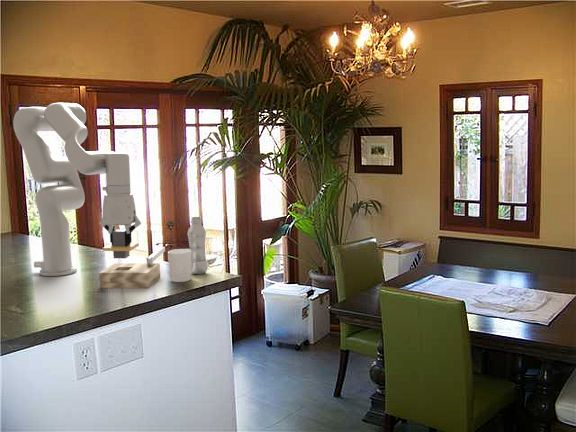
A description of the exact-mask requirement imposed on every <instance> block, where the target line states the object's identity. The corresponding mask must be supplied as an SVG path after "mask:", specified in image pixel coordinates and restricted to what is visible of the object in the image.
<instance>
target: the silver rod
mask: <svg viewBox="0 0 576 432" xmlns="http://www.w3.org/2000/svg"><path fill="white" fill-rule="evenodd" d="M164 252H166V247H165V246H159V247H158V248H157V249H156V250H154V252H152V254H150V255H149V256H148V257H146V263H147V266H153V263H154V262H155V261H156V260H157V259H158V258H159V257H160V256H161V255H163V254H164Z"/></svg>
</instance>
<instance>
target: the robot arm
mask: <svg viewBox="0 0 576 432" xmlns="http://www.w3.org/2000/svg"><path fill="white" fill-rule="evenodd" d="M12 121H13V122H12V123H13V131H14V133H15V136H16V138H17V140H18V141H19V144H20V145H21V148H22V150H23V152H24V155H25V159H26V162H27V165H28V168H29V171H30V173H31V176H32V179H33V180H34V182H35V183H37V184H43V185H45V184H54V185H48V186H47V185H46V186H44V187H42V188H40V189H39V190H38V191H37V192H36V194H35V204H36V208H37V212H38V215H39V223H40V235H41V246H42V260H41V261H38V260H37V261H36V260H35V261H34V262H33V267H34V268H40V270H39V275H40V276H42V277H43V276H44V277H58V276H59V277H61V276H67V275H71V274H74V273H76V272H77V271H78V270H77V267H76V266H74V265H73V263H72V250H71V235H70V224H69V221H68V218H67V217H66V215H65V214H64V213H63V212H65V211H74V210H77V209H80V208H82V207H83V205H84V203H85V201H86V200H85V199H86V196H85V192H84V188H83V185H82V181H81V178H80V176H79V173H81V174H83V175H85V176H91V175H103V174H104V175H105V177H106V178H105V179H106V180H105V181H106V184H105V186H102V191H105V192H106V194H104V195H103V201H102V217H101V219H100V221H99V222H98V225H100V226H101V227H103V228H104V229H105V230H106V231H107V232H108V234H109V242H110V244H111V243H112V246H113V234H112V231H114V230H116V226H124V229H126V234H125V245H126V246H128V245H130V243H132V242H133V241H132V233H133V231H135V229H136V228H138V227H139V226H141V225H142V222H141V220H140V219H139V218H138V216H137V213H136V212H137V211H136V204H135V203H136V202H135V199H134V195H133V193H131V172H130V155H129V154H128V153H127V152H125V151H124V152H123V151H111V150H96V151H95V150H93V151H86V150H85V149H84V148H83V147H82V146H81V144H82V143H84V142H85V140H86V139H87V137H88V132H89V131H88V128H87V126H85V123H86V121H87V113H86V110H85V108H84V107H82V106H81V105H80V104H78V103H74V102H72V103H70V102H54V103H50V104H48V105H47V106H46V107H45V106H29V107H28V106H27V107H21V108H20V109H18V110H17V111H16V112H15V114H14V117H13V120H12ZM38 132H55V133H56V134H57V135H58V136H59V137H60V138H61V139H62V140H63V142H64V151H65V156H63V155H62V156H54V155H53V154H52V153H51V149H50V145H49V144H48V142H47V141H46V139H45V138H44V137H43V136H42V135H40V133H38ZM57 183H59V184H57Z"/></svg>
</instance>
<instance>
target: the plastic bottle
mask: <svg viewBox="0 0 576 432" xmlns="http://www.w3.org/2000/svg"><path fill="white" fill-rule="evenodd" d="M202 223H203V221H202V217H201V216H199V217H198V216H195V217H193V216H191V218H190V224H191V225H190V227H188V230H187V238H188V244H189V249H190V250H191V274H193V275H194V274H195V275H201V274H202V275H203V274H205V273H206V272H207V271H208V267H209V266H208V261H207V256H206V236H207V232H206V229H205V227H204V226H203V225H202Z"/></svg>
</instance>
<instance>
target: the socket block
mask: <svg viewBox="0 0 576 432" xmlns="http://www.w3.org/2000/svg"><path fill="white" fill-rule="evenodd" d="M98 277H99V288H100V289H109V288H110V289H149V287H151V286H152V285H154V283H155V282H157V281H158V280H159V279H160V278H161V265H160V263H157V262H156V263H155V262H153V266H147V262H146V263H145V262H143V263H137V262H134V263H127V262H125V263H120V262H119V263H118V262H117V263H113V264H112V265H109V266H108V267H107V268H105V269H103V270H101V271H99V272H98Z"/></svg>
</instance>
